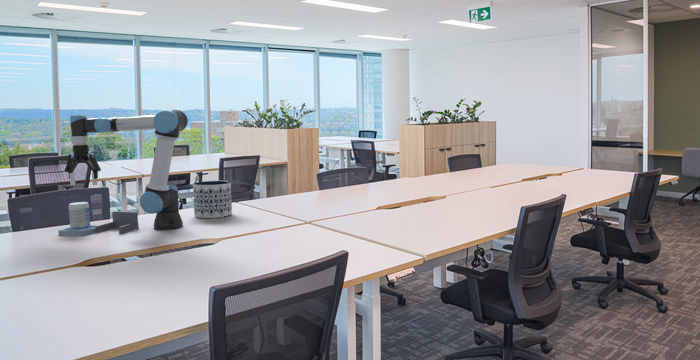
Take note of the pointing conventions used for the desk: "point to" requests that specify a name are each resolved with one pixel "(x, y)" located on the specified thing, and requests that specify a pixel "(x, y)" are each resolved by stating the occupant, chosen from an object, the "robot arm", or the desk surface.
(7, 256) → the desk surface
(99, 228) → the bay
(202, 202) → the planter
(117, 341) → the desk surface
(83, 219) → the supplement tub
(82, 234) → the tray
